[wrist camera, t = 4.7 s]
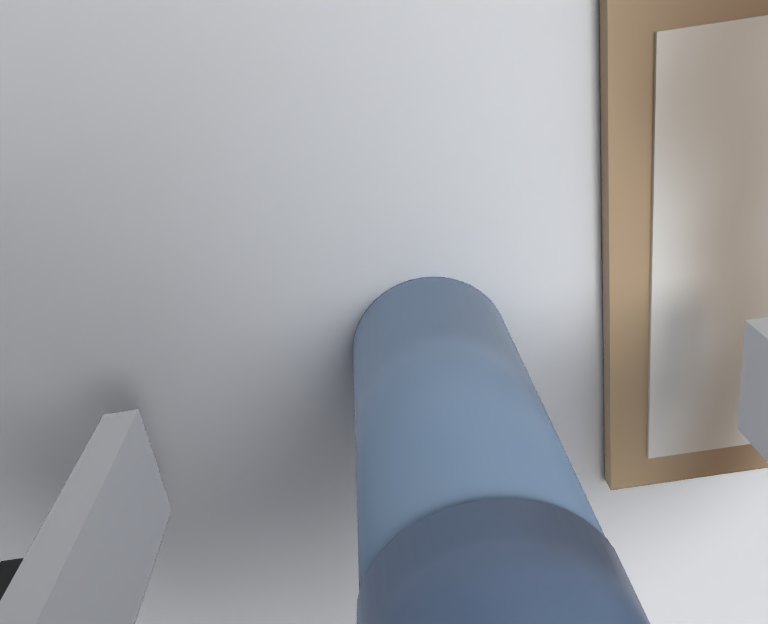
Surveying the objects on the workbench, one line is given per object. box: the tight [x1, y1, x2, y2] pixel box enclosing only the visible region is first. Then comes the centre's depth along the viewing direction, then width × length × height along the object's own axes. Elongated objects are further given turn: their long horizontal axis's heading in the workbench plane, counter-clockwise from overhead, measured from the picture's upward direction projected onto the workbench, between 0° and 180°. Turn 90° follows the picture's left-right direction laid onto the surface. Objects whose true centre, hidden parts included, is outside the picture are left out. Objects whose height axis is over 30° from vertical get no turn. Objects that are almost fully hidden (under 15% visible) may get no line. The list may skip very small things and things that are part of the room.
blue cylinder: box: [353, 277, 650, 624], centre depth 14 cm, size 4×4×11 cm
